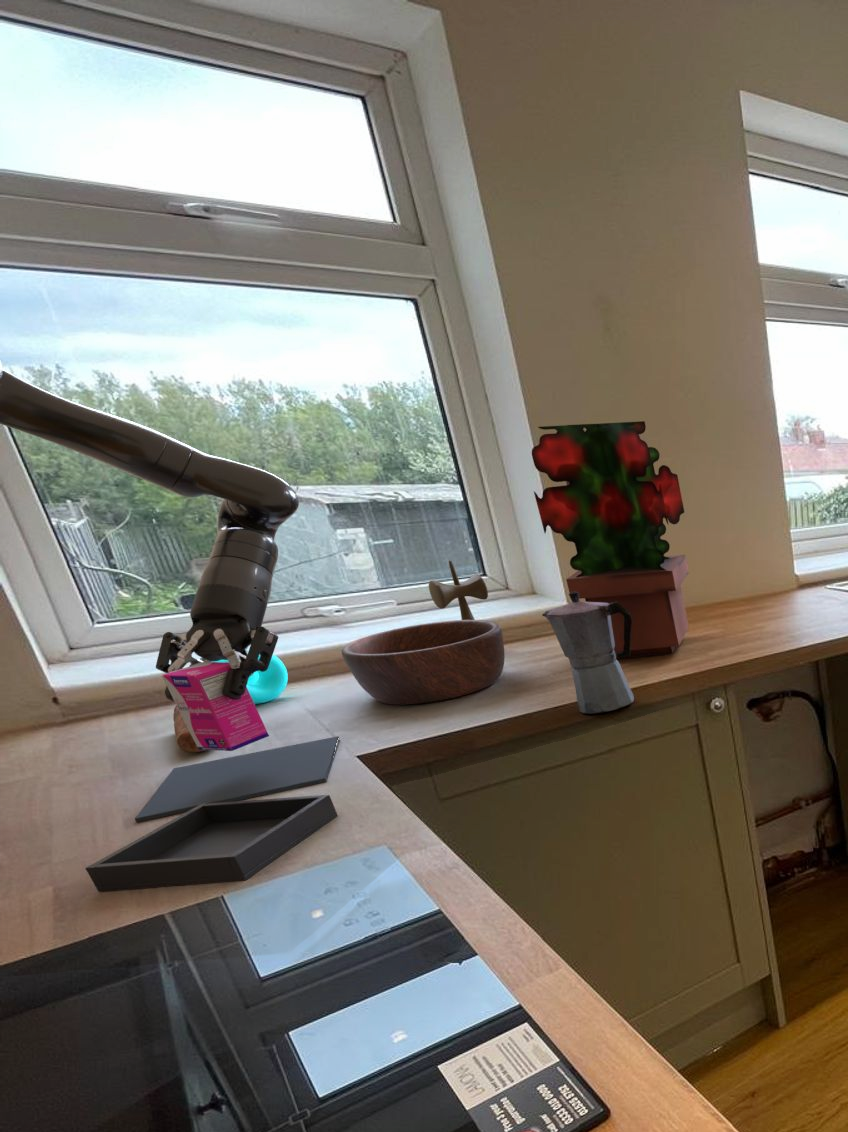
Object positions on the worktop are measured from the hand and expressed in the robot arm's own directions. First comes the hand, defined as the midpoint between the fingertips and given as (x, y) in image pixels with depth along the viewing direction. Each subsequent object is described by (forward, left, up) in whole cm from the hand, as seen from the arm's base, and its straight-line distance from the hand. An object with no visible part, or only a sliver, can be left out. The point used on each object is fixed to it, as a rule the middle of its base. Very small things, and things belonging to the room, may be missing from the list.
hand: (203, 698), depth 112 cm
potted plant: (+63, +34, -13) cm, 73 cm away
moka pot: (+50, -1, -13) cm, 51 cm away
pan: (+3, -27, -13) cm, 30 cm away
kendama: (+32, +57, -13) cm, 67 cm away
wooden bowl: (+25, +32, -13) cm, 43 cm away
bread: (-8, +27, -13) cm, 31 cm away
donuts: (-5, +48, -13) cm, 50 cm away
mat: (+1, +1, -13) cm, 13 cm away
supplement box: (+1, +1, -8) cm, 8 cm away
